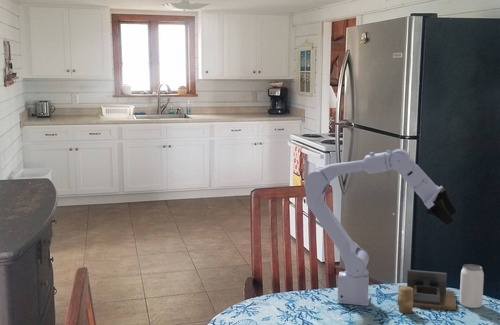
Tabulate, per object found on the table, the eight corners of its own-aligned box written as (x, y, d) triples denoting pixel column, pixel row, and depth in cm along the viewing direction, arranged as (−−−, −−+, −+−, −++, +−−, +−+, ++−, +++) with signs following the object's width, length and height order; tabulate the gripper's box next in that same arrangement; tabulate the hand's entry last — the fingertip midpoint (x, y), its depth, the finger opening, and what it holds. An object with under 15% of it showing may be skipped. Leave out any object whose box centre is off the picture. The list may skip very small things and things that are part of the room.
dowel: (398, 312, 165) (399, 290, 164) (398, 307, 168) (399, 285, 167) (412, 314, 164) (413, 291, 162) (412, 308, 167) (413, 286, 166)
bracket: (397, 304, 170) (398, 282, 169) (399, 289, 183) (399, 268, 182) (456, 310, 166) (457, 287, 164) (453, 294, 178) (454, 273, 177)
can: (483, 309, 166) (486, 271, 164) (461, 308, 167) (463, 270, 166) (479, 301, 172) (481, 264, 170) (457, 299, 174) (459, 263, 172)
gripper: (426, 181, 154) (460, 219, 153) (434, 167, 167) (465, 202, 165) (407, 196, 158) (440, 232, 156) (416, 181, 170) (447, 215, 169)
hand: (452, 218), depth 161 cm, fingers open, 7 cm apart
